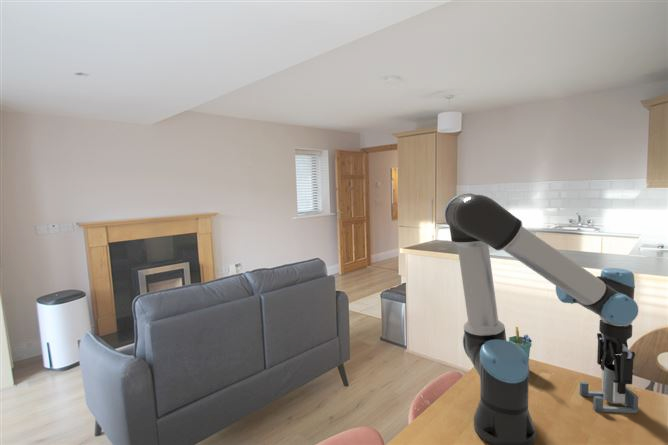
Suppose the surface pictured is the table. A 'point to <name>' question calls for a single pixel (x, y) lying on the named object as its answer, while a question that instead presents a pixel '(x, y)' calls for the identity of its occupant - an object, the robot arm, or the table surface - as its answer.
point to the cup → (522, 342)
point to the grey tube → (609, 383)
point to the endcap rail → (630, 402)
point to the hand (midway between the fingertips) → (612, 396)
